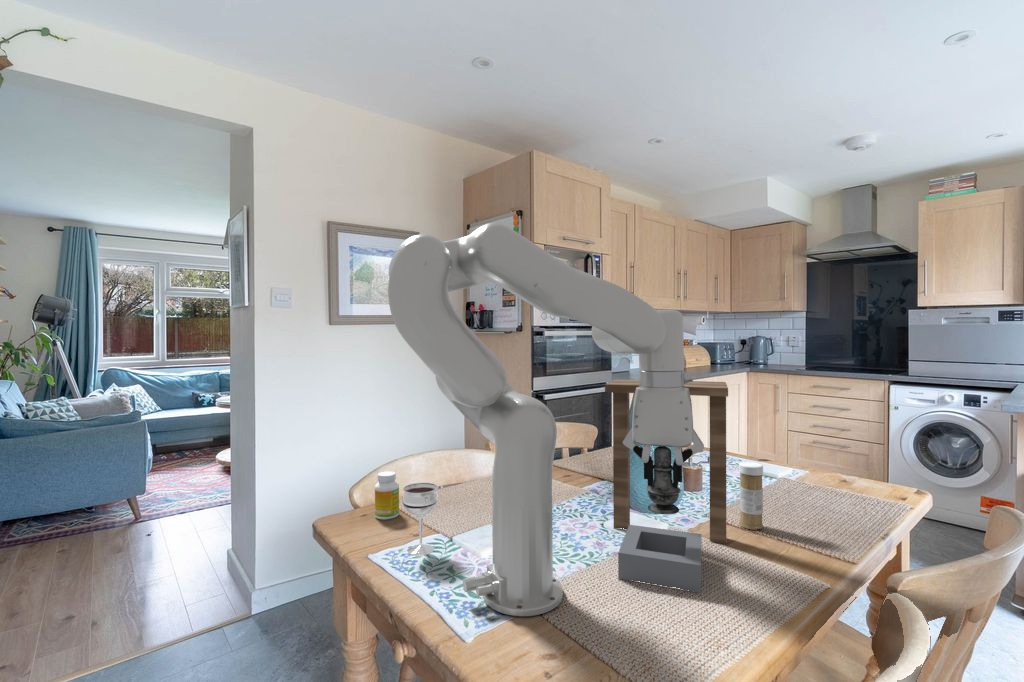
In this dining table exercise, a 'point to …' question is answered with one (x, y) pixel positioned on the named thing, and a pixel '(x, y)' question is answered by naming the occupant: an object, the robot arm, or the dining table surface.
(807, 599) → the dining table surface
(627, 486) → the canopy
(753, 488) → the sprinkles bottle
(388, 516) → the supplement bottle
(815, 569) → the dining table surface
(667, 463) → the salt shaker
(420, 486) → the wineglass
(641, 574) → the socket block
